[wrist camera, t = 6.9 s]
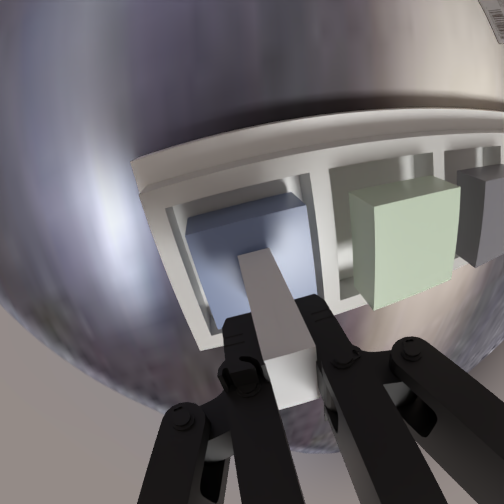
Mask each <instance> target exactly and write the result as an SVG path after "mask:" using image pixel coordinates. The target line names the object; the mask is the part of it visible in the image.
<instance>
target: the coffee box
mask: <svg viewBox="0 0 504 504" xmlns="http://www.w3.org/2000/svg"><path fill="white" fill-rule="evenodd" d="M479 2H480V4H481V6H482V8H483V10H484V12H485V14H486V16H487V18H488V20H489V22H490V24H491V26H492V29H493V31H494V33H495V36H496V38H497V40H498V43H499V44H504V0H479Z"/></svg>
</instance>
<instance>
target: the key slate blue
mask: <svg viewBox="0 0 504 504" xmlns="http://www.w3.org/2000/svg"><path fill="white" fill-rule="evenodd" d="M185 238H186V241H187V244H188V247H189V250H190V253H191V256H192V259H193V262H194V265H195V268H196V271H197V273H198V276H199V279H200V282H201V285H202V288H203V291H204V293H205V296H206V299H207V302H208V304H209V307H210V310H211V312H212V315H213V318H214V320H215V323H216V326H217V328H218V329H222V327H223V324H224V322H225V320H226V318H229V317H233V316H237V315H241V314H245V313H249V312H251V310H250V306H249V302H248V298H247V293H246V289H245V285H244V281H243V277H242V273H241V269H240V265H239V260H238V256H239V255H242V254H246V253H250V252H254V251H258V250H262V249H266V248H269V249H270V251H271V253H272V255H273V257H274V259H275V261H276V263H277V265H278V267H279V269H280V271H281V274H282V276H283V278H284V280H285V282H286V284H287V286H288V288H289V290H290V292H291V294H292V297H293V299H297V298H301V297H304V296H308V295H311V294H316V295H317V286H316V277H315V268H314V259H313V251H312V243H311V236H310V228H309V221H308V214H307V207H306V204H304V203H303V202H302V201H301V200H300V199H299V198H298V197H297V196H295V195H294V194H293V193H292V192H288V193H284V194H279V195H275V196H271V197H267V198H262V199H258V200H254V201H250V202H246V203H242V204H238V205H234V206H230V207H226V208H222V209H218V210H215V211H211V212H207V213H203V214H200V215H196V216H192V217H189V218H188V219H187V225H186V231H185Z"/></svg>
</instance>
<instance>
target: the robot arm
mask: <svg viewBox="0 0 504 504" xmlns="http://www.w3.org/2000/svg"><path fill="white" fill-rule="evenodd" d="M238 260H239V265H240V269H241V273H242V277H243V281H244V285H245V289H246V293H247V298H248V302H249V306H250V310H251V312H249V313H245V314H241V315H237V316H233V317H229V318H226V320H225V322H224V324H223V327H222V335H223V344H224V352H225V361H224V362H223V363H222V364H221V366H220V367H219V369H218V375H217V376H218V378H219V380H220V382H221V384H222V387H223V389H224V390H223V392H222V393H221V394H220V395H219V396H218V397H216V398H215V399H213V400H211V401H209V402H207V403H205V404H203V405H201V406H198V405H197V404H194V403H190V402H185V403H179V404H177V405H174V406H172V407H171V408H170V409H169V410H168V411H167V412H166V413H165V415H164V417H163V419H162V422H161V425H160V429H159V431H158V435H157V438H156V441H155V444H154V448H153V451H152V454H151V458H150V461H149V464H148V468H147V471H146V474H145V478H144V481H143V485H142V488H141V492H140V495H139V499H138V502H137V504H223V503H224V497H225V490H226V484H227V477H228V470H229V463H230V457H231V456H232V455H234V458H235V465H236V471H237V478H238V484H239V490H240V496H241V502H242V504H305V500H304V497H303V493H302V490H301V487H300V483H299V480H298V476H297V473H296V469H295V466H294V462H293V459H292V455H291V451H290V448H289V444H288V441H287V437H286V434H285V430H284V426H283V423H282V419H281V416H280V412H279V410H280V409H284V408H288V407H291V406H295V405H298V404H302V403H305V402H308V401H312V400H315V399H318V398H320V394H321V396H322V399H323V401H324V416H325V421H327V420H328V421H329V423H330V426H331V428H332V431H333V434H334V436H335V439H336V441H337V444H338V446H339V449H340V452H341V454H342V457H343V459H344V462H345V464H346V467H347V470H348V472H349V475H350V477H351V480H352V483H353V485H354V488H355V490H356V493H357V496H358V498H359V501H360V503H361V504H448V503H447V501H446V499H445V497H444V495H443V493H442V491H441V489H440V487H439V485H438V483H437V481H436V479H435V477H434V475H433V473H432V472H431V470H430V468H429V466H428V464H427V462H426V460H425V458H424V456H423V455H422V453H421V451H420V449H419V447H418V445H417V443H419V445H420V446H421V447H422V448H423V449H424V450H425V451H426V452H427V453H428V454H429V455H430V456H431V457H432V458H433V459H434V460H435V461H436V462H437V463H438V464H439V465H440V466H441V467H442V468H443V469H444V470H445V471H446V472H447V473H448V474H449V475H450V476H451V477H452V478H453V479H454V480H455V481H456V482H457V483H458V484H459V485H460V486H461V487H462V488H463V489H464V490H465V491H466V492H467V493H468V494H469V495H470V496H471V497H472V498H473V499H474V500H475V501H476V502H477V503H478V504H504V402H503V401H501V400H500V399H499V398H498V397H496V396H495V395H494V394H493V393H492V392H490V391H489V390H488V389H486V388H485V387H484V386H483V385H482V384H480V383H479V382H478V381H477V380H475V379H474V378H473V377H471V376H470V375H469V374H468V373H467V372H465V371H464V370H463V369H461V368H460V367H459V366H458V365H456V364H455V363H454V362H452V361H451V360H450V359H449V358H447V357H446V356H445V355H443V354H442V353H441V352H440V351H438V350H437V349H436V348H434V347H433V346H432V345H430V344H429V343H428V342H426V341H425V340H423V339H421V338H418V337H412V336H411V337H404V338H402V339H400V340H398V341H397V342H396V343H395V344H394V345H393V347H392V350H389V351H380V352H366V351H362V350H361V349H360V348H359V347H357V346H354V345H352V344H351V342H350V341H349V339H348V338H347V336H346V334H345V333H344V331H343V329H342V328H341V326H340V324H339V323H338V321H337V319H336V318H335V317H334V315H333V313H332V311H331V310H330V308H329V306H328V305H327V303H326V302H325V300H324V299H323V298H321V297H319V296H318V295H316V294H311V295H308V296H304V297H301V298H297V299H293V297H292V294H291V292H290V290H289V288H288V286H287V284H286V282H285V280H284V278H283V276H282V274H281V271H280V269H279V267H278V265H277V263H276V261H275V259H274V257H273V255H272V253H271V251H270V249H269V248H266V249H262V250H258V251H254V252H250V253H246V254H242V255H239V256H238ZM415 441H416V442H417V443H416V442H415Z"/></svg>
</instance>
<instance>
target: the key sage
mask: <svg viewBox="0 0 504 504" xmlns="http://www.w3.org/2000/svg"><path fill="white" fill-rule="evenodd" d="M460 190H461V187H460V186H457V185H455V184H452V183H450V182H447V181H445V180H442V179H440V178H437V177H434V176H432V175H430V176H424V177H419V178H413V179H408V180H403V181H398V182H393V183H388V184H383V185H378V186H373V187H368V188H363V189H359V190H354V191H349V192H348V195H349V206H350V218H351V232H352V250H353V277H354V287H355V288H356V289H357V290H358V292H359V293H360V294H361V295H362V297H363V298H364V299H365V300H366V302H367V303H368V304H369V305H370V307H371V308H372V309H373V311H374V310H377V309H380V308H382V307H385V306H388V305H390V304H393V303H395V302H398V301H401V300H403V299H406V298H408V297H411V296H413V295H416V294H418V293H420V292H423V291H425V290H428V289H430V288H432V287H435V286H437V285H439V284H442V283H444V282H446V281H448V280H451V276H452V270H453V264H454V257H455V250H456V242H457V233H458V223H459V210H460Z"/></svg>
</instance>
